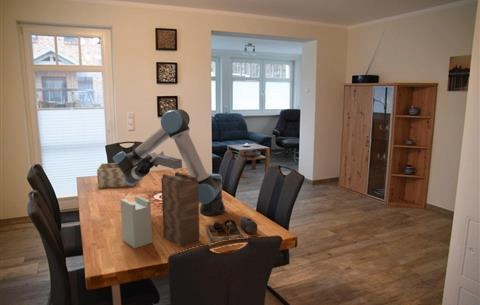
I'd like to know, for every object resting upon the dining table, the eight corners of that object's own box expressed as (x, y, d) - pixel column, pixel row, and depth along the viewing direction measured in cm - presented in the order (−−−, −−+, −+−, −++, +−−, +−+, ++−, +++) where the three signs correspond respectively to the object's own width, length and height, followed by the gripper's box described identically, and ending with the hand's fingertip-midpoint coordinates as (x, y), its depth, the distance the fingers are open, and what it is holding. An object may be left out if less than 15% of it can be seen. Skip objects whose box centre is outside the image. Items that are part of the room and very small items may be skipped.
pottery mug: (233, 229, 184) (238, 218, 180) (233, 243, 177) (239, 233, 172) (211, 225, 182) (215, 214, 177) (210, 240, 174) (215, 229, 169)
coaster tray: (235, 228, 185) (235, 222, 184) (243, 241, 169) (243, 235, 168) (206, 230, 181) (206, 225, 181) (211, 244, 165) (211, 238, 164)
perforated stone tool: (237, 226, 187) (237, 213, 186) (246, 224, 189) (246, 212, 188) (248, 236, 174) (248, 223, 173) (258, 235, 176) (258, 221, 175)
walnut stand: (163, 237, 173) (161, 174, 168) (180, 231, 180) (178, 171, 175) (182, 247, 162) (180, 180, 157) (199, 241, 169) (198, 177, 163)
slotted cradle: (122, 240, 169) (120, 199, 166) (139, 235, 175) (137, 195, 172) (134, 248, 161) (132, 205, 157) (152, 242, 167) (150, 201, 163)
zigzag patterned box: (135, 178, 292) (135, 162, 289) (134, 185, 270) (133, 167, 267) (102, 180, 286) (101, 163, 283) (98, 187, 264) (97, 169, 261)
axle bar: (147, 161, 183) (146, 153, 182) (153, 160, 186) (153, 152, 185) (174, 169, 164) (174, 160, 164) (182, 167, 167) (181, 159, 166)
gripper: (156, 174, 198) (175, 158, 182) (128, 179, 187) (146, 163, 170) (152, 162, 200) (171, 145, 183) (124, 166, 188) (141, 149, 172)
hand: (159, 154), depth 177 cm, fingers closed on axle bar, 4 cm apart
